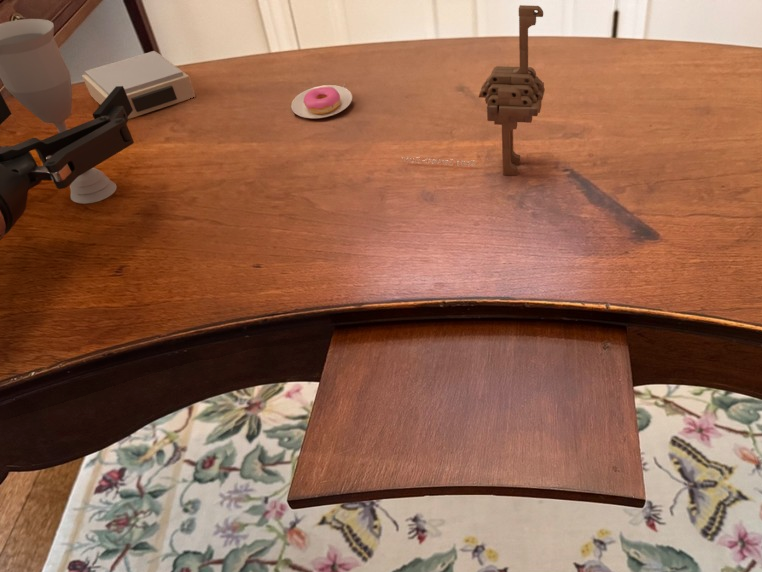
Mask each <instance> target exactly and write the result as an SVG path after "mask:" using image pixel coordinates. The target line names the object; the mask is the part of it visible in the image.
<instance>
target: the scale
mask: <svg viewBox="0 0 762 572" xmlns="http://www.w3.org/2000/svg"><path fill="white" fill-rule="evenodd" d="M81 77H82V80H83V82H84V84H85V86H86V89H87V91H88V93H89V95H90V97H91V98H92V99H93V100H94V101H95V102H97V103H98V104H99V106H100V105H101V104H102V102H103V101H104V100H105V99H106V98H107V97H108V95H109V94H110V93H111V92H112V91H113V89H114V88H115V87H116V86H123V87H124V90H125V92H126V95H127V97H128V99H129V102H130V104H131V107H132V109H133V111H132V112H131V113H130V115H129V116H128V120H131V119H133V118H136V117H139V116H142V115H145V114H148V113H151V112H155V111H157V110H161V109H164V108H167V107H170V106H172V105H175V104H179V103H182V102H185V101H188V100H191V99H193V97H194V98H196V93H195V90H194V87H193V83H192V81H191V79H190V76H189V75H188V74H187V73H185V71H183V70H181V69H180V68H179V67H178V66H177V65H175V64H173V63H172V62H170V60H168V59H166V58H165V57H164V56H162V55H161V54H160V53H159V52H157V51H155V50H152V51H148V52H145V53H141V54H138V55H135V56H131V57H128V58H125V59H121V60H118V61H114V62H110V63H108V64H103V65H101V66H98V67H97V66H96V67H94V68H90V69H86V70H84V74H82V75H81ZM190 98H191V99H190Z"/></svg>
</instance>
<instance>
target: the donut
mask: <svg viewBox="0 0 762 572" xmlns="http://www.w3.org/2000/svg"><path fill="white" fill-rule="evenodd" d="M346 85H347V83H346V82H344V84H343V85H342V86H340V85H335V84H324V85H317V86H314V87H311V88H308V89H306V90H304V91H302V92H300V93H298V94H297V95H296V96H295V97H294V99H293V100H292V102H291V103H290V107H291V108H290V109H291V111H292V112H293V113H294V114H295V115H297V116H299V117H301V118H305V119H323V118H328V117H332V116H335V115H337V114H339V113H341V112H343V111H344V110H346V109H347V108H348V107H349V106H350V105H351V103H352V101H353V94H352V92H351V91H350V90H349V89H347V88H346Z"/></svg>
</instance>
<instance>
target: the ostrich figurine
mask: <svg viewBox="0 0 762 572" xmlns="http://www.w3.org/2000/svg"><path fill="white" fill-rule="evenodd" d="M537 18H544V10H543V9H542V7H541V6H539V5H528V4H527V5H525V4H524V5H521V4H520V5H519V6H518V38H519V39H518V41H519V43H518V46H519V47H518V48H519V66H501V65H498V66H497V65H496V66H495V67H493V69H492V71H491V73H490V75H489V76H488V78H486V79H485V81H484V82H483V83H482V86H481V89H480V91H479V93H478V98H485V99H484V102H485V104H486V105H487V106H486V116H487V121H488V122H493V123H494V124H493V125H498V126H501V148H502V149H501V150H502V154H501V155H502V175H503V176H518V173H519V170H518V169H519V168H518V167H519V166H518V165H520V164H521V154H517V153H516V152H515V150H514V130H517V128H518V123H527V124H531V123H532V122H533V117H538V115H539V114H540V113H541V110H542V102H543V100H544V95H545V91H546V90H545V81H542V79H540V78H539V77H538V76H537V72H536V70H535V69H534V68H533V67H531V66H529V28H531V27H532V26H536V24H537ZM401 159H402V160H403V163H405V164H406V163H411V164H414V163H416V164H421V163H422V162H425V164H426V165H431V164H432V165H435V164H436V165H439V166H440V165H441V163H442V165H443V166H449V165H450V166H454V165H455V164H454V159H453V158H450V159H449V160H448V159H445V160H444V159H441V158H438V157H436V159H432V158H430V157H429V158H428V157H427V158H425V159H422V160H421V157H420V156H416V157H415V158H414V157H413V158H412V157H410V156H409V155H408V156H407V157H401ZM417 159H418V161H417ZM475 162H476V159H475V160H474V159H471V160H470V161H465V160H463V158H462V159H461V160H457V161H456V166H457V167H473V168H474V167H477V165H476V163H475Z"/></svg>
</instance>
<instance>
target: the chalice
mask: <svg viewBox="0 0 762 572" xmlns="http://www.w3.org/2000/svg"><path fill="white" fill-rule="evenodd" d="M54 25H55V24H54V22H52V21H50V20H49V19H43V18H25V19H17V20H9V21H5V22H1V23H0V80H1V82H2V84H3V86H4V87H5V89H6V90H7V91H8V92H9V93H10V94H11V95H12V96H13V97H14V99H15V100H17V101H18V102H19V104H20V105H22V106H23V107H25V109H26V110H28V111H29V112H31V114H33V116H36V117H37V118H38V119H39V120H40V121H42V122H43V123H46V124H53V125H54V126H55V128H56V129H57V132H58V134H59V133H61V132H64V131H66V130H69V128H68V127H67V124H66V120H68V119H69V118H70V117H71V116H72V105H73V88H72V78H71V77H72V75H71V73H70V69H69V68H68V66H67V63H66V61H65V59H64V57H63V55H62V53H61V51H60V48H59V46H58V44H57V41H56V40H55V38H54V37H55V36H54V32H55V26H54ZM117 187H118V186H117V184H116V183H115V182H114V181H112V180H110V177H108V176H107V175H105V174H104V172H103V171H102V170H100V169H98V168H96V167H93V168H92V169H90V170H88V171H86V172H85V173H83V174H81V175H80V176H78V177H77V178H76V179H75V180H74V181H73V182H72V183H71V184H70V185H69V190H70V194H69V195H70V196H69V197H70V201H72V202H74V203H77V204H85V205H86V204H93V203H97V202H101V201H102V200H105V199H108V198H109V197H111V196H112V195H113V194H114V193H115V192H116V190H117Z"/></svg>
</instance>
